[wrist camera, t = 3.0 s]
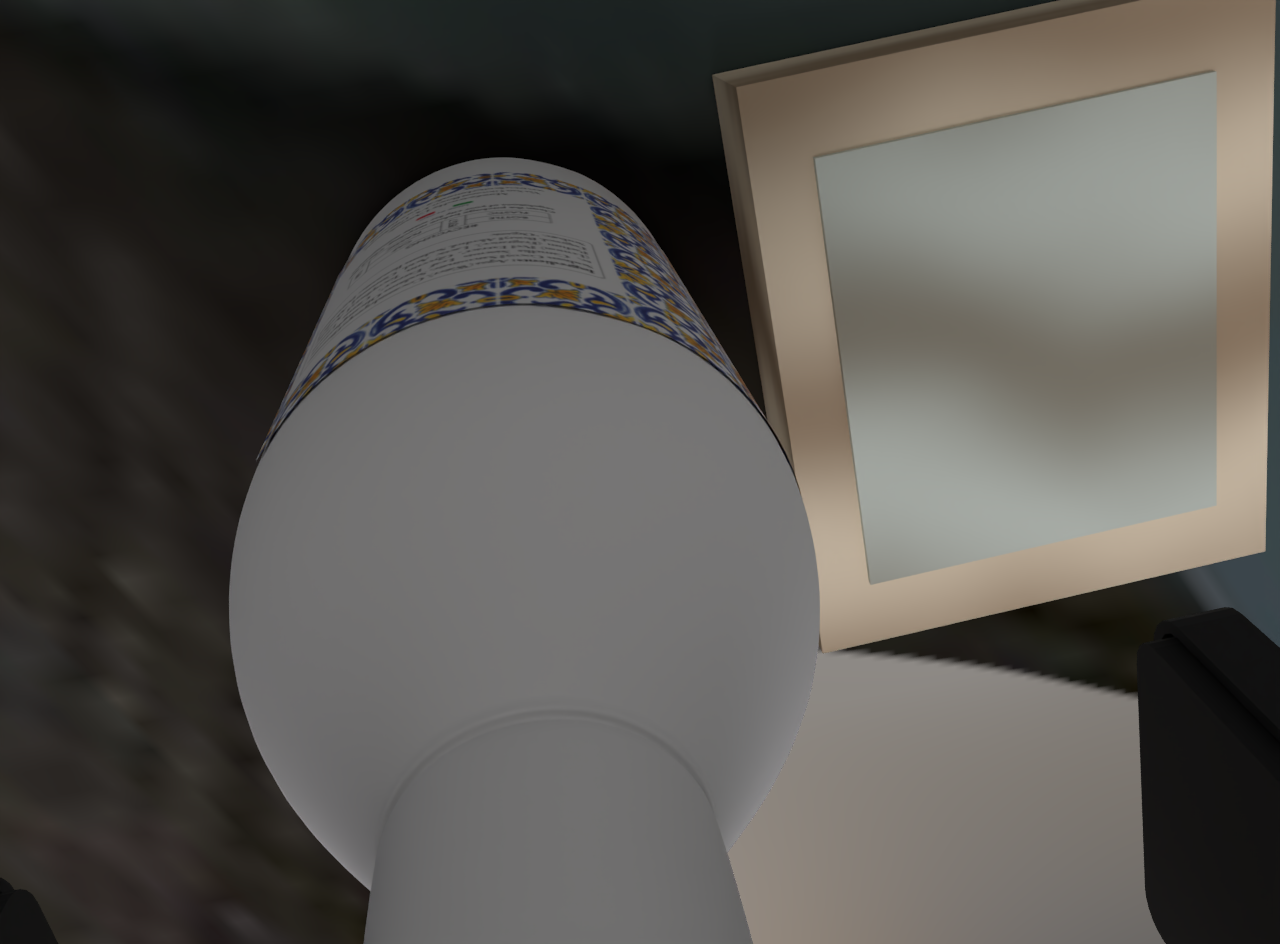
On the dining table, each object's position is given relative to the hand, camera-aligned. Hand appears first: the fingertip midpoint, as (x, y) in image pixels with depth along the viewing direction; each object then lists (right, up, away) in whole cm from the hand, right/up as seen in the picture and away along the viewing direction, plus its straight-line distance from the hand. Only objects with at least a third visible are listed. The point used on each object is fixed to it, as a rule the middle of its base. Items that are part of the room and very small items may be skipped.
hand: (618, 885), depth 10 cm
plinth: (+8, +7, +16) cm, 19 cm away
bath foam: (-3, +7, +15) cm, 17 cm away
